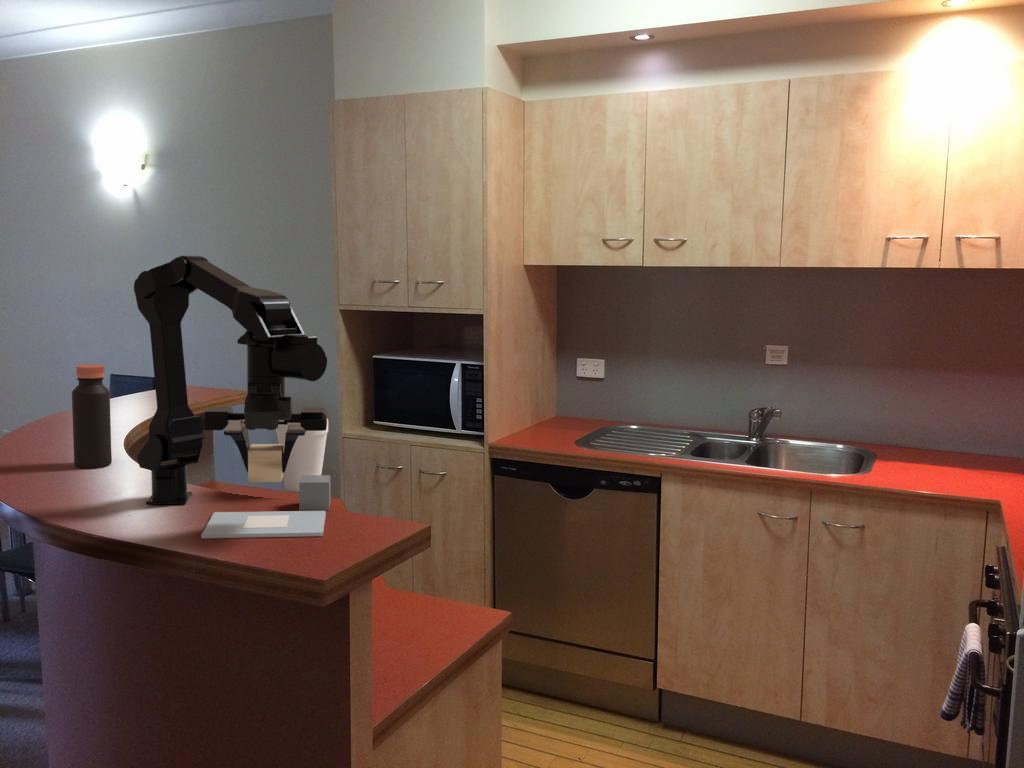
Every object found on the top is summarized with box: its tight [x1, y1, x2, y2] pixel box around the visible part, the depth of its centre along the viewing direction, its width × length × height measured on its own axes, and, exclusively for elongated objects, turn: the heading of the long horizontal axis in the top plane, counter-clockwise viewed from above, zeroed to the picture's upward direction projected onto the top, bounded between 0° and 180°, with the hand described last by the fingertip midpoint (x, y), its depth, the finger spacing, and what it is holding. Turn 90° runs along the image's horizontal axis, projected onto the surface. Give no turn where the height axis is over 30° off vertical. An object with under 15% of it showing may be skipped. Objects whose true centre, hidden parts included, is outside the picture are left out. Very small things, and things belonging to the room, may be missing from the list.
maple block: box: [247, 443, 284, 483], centre depth 140 cm, size 5×5×5 cm
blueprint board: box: [200, 510, 327, 539], centre depth 141 cm, size 12×18×1 cm, turn 100°
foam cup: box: [275, 417, 329, 493], centre depth 165 cm, size 10×9×13 cm
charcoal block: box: [298, 474, 331, 511], centre depth 153 cm, size 5×5×5 cm
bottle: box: [71, 364, 113, 470], centre depth 176 cm, size 7×7×20 cm
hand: (266, 472), depth 140 cm, fingers closed on maple block, 5 cm apart
